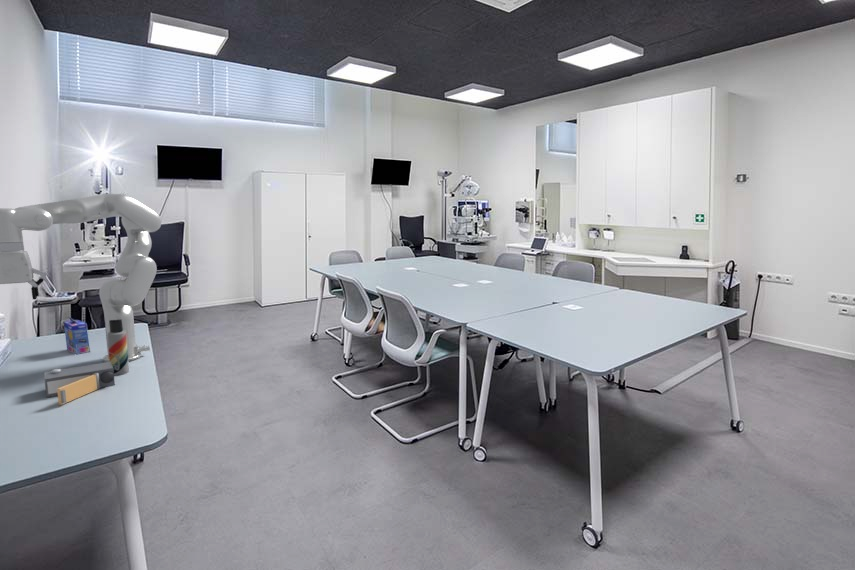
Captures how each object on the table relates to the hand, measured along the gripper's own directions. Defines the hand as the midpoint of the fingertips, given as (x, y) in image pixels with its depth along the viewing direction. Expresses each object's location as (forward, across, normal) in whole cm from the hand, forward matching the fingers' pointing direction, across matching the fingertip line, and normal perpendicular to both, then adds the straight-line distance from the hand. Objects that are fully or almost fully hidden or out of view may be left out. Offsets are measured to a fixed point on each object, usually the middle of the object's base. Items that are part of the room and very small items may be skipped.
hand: (15, 300), depth 152 cm
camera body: (+29, +15, -11) cm, 35 cm away
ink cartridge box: (+30, +11, +36) cm, 48 cm away
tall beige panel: (+29, +16, -21) cm, 39 cm away
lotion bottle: (+30, +26, -1) cm, 39 cm away
